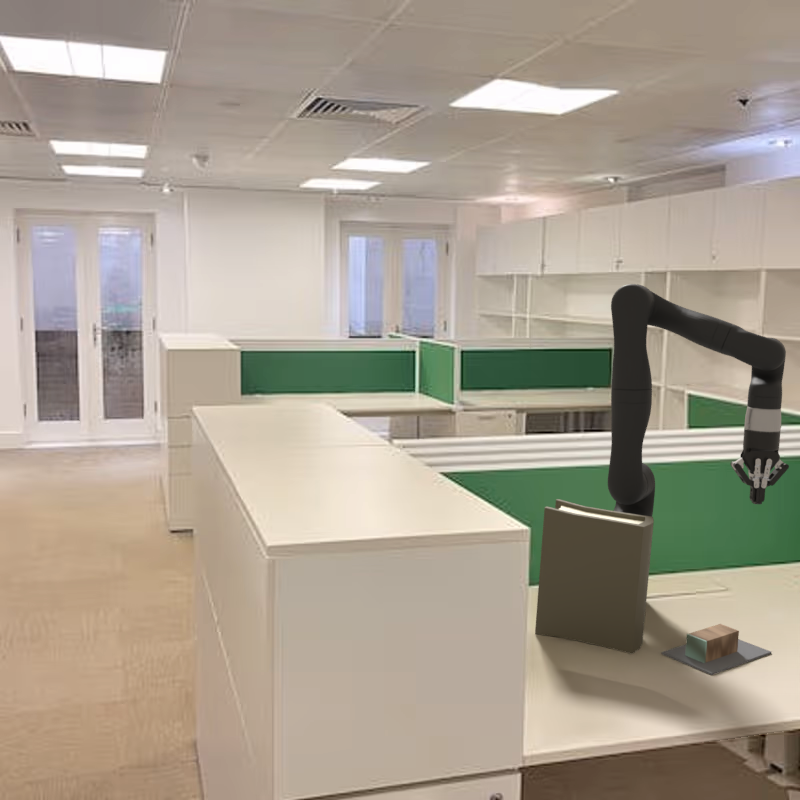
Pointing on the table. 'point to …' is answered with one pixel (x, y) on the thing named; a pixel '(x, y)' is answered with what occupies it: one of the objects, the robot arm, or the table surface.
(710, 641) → the walnut block
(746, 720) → the table surface
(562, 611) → the book
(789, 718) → the table surface
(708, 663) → the rubber mat
